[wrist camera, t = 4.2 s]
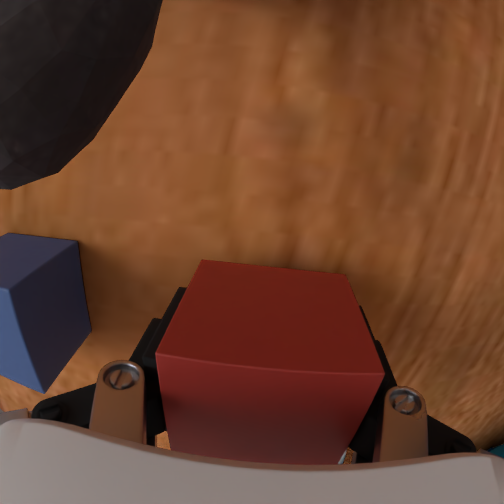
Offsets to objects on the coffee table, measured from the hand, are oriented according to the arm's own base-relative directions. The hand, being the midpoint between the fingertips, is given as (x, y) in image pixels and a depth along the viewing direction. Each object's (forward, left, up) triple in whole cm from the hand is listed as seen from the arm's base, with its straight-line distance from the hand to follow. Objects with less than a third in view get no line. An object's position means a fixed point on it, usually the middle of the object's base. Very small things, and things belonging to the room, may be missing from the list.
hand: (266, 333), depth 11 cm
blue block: (+1, -11, -2) cm, 11 cm away
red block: (0, 0, 0) cm, 0 cm away
